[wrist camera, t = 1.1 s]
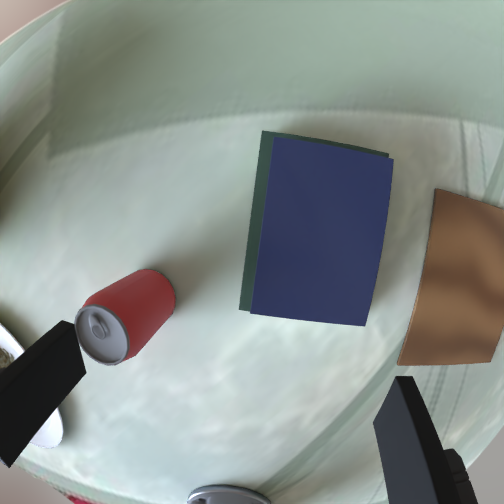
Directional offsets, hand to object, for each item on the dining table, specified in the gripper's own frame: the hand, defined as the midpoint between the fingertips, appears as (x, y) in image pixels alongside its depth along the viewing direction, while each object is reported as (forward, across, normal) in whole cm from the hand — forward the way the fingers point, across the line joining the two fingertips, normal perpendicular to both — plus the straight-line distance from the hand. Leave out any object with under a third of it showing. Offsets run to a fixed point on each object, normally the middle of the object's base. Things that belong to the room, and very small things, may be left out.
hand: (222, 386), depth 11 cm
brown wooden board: (+23, -28, +3) cm, 36 cm away
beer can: (+21, +12, +8) cm, 25 cm away
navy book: (+20, -5, -2) cm, 21 cm away
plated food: (+16, +45, +32) cm, 57 cm away
